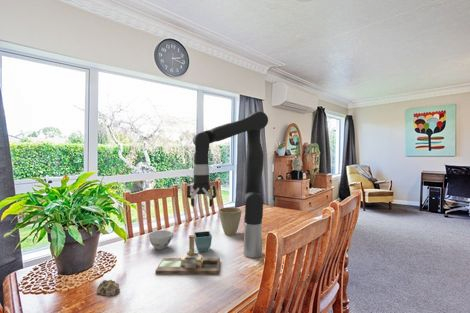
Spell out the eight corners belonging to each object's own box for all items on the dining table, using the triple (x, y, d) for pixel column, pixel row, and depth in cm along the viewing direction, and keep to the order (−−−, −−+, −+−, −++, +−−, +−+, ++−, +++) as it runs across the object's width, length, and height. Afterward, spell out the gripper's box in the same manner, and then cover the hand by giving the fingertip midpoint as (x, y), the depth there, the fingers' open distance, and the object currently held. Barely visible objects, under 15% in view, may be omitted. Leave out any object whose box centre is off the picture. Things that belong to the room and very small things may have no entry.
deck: (219, 261, 126) (219, 248, 126) (218, 274, 113) (218, 260, 113) (163, 261, 126) (163, 248, 125) (155, 274, 113) (155, 260, 112)
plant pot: (242, 230, 173) (242, 207, 173) (240, 238, 159) (240, 213, 158) (220, 229, 175) (220, 206, 174) (216, 237, 160) (217, 212, 159)
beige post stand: (201, 261, 122) (202, 234, 121) (200, 266, 117) (200, 237, 116) (183, 261, 122) (183, 234, 121) (180, 265, 117) (181, 237, 116)
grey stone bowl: (157, 254, 133) (157, 239, 133) (144, 248, 141) (144, 233, 141) (180, 246, 145) (180, 232, 144) (167, 240, 153) (167, 227, 152)
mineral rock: (90, 285, 99) (109, 272, 105) (93, 294, 100) (112, 281, 106) (105, 296, 93) (124, 281, 99) (108, 305, 94) (127, 290, 100)
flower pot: (195, 254, 134) (195, 237, 134) (193, 247, 142) (193, 232, 142) (211, 252, 136) (212, 236, 136) (209, 246, 145) (209, 230, 144)
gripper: (217, 172, 127) (217, 204, 128) (189, 172, 128) (189, 204, 129) (214, 174, 120) (215, 208, 120) (185, 174, 121) (185, 208, 121)
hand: (201, 206), depth 124 cm, fingers open, 8 cm apart
